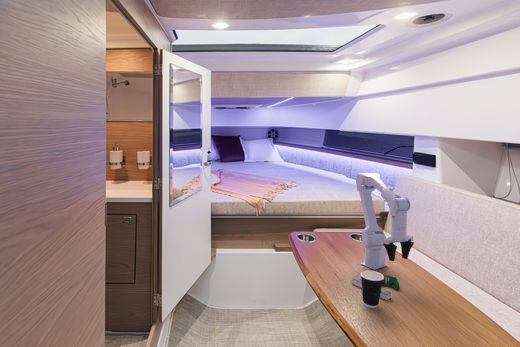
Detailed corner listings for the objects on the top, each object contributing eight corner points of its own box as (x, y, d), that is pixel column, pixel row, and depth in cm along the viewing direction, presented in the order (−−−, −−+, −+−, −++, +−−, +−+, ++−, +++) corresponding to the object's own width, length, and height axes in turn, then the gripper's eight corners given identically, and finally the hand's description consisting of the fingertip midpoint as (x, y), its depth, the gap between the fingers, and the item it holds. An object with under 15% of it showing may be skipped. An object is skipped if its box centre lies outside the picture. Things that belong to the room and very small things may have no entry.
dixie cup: (383, 312, 108) (385, 281, 107) (358, 308, 110) (360, 277, 109) (381, 301, 115) (383, 272, 114) (358, 297, 118) (360, 269, 117)
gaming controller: (398, 293, 126) (398, 278, 130) (399, 289, 123) (399, 274, 127) (374, 289, 129) (374, 275, 133) (374, 285, 126) (375, 271, 130)
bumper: (356, 281, 131) (357, 276, 131) (391, 298, 118) (391, 292, 117) (351, 283, 129) (352, 278, 129) (386, 300, 116) (386, 294, 116)
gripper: (394, 230, 123) (393, 264, 124) (419, 227, 129) (418, 259, 130) (380, 227, 129) (379, 259, 130) (405, 224, 136) (404, 255, 136)
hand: (398, 259), depth 130 cm, fingers open, 7 cm apart
